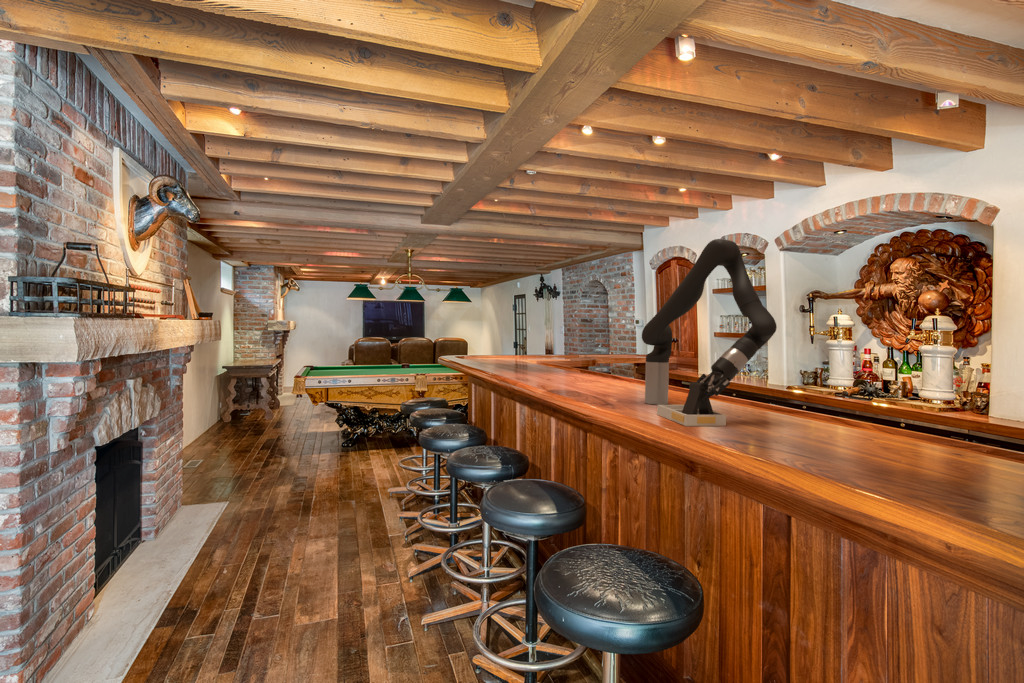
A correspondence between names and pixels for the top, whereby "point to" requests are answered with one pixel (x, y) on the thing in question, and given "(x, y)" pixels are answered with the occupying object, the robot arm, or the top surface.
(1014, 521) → the top surface
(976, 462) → the top surface
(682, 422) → the tray
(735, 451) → the top surface
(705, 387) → the door stopper
